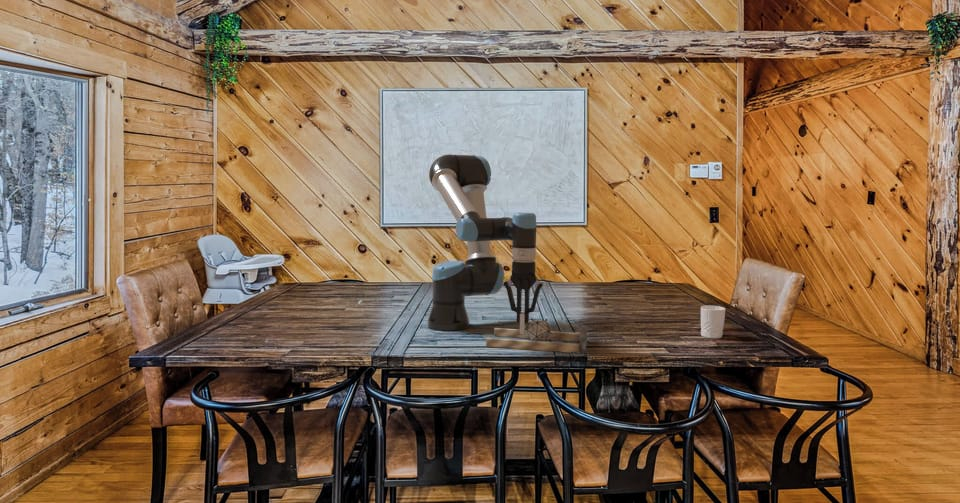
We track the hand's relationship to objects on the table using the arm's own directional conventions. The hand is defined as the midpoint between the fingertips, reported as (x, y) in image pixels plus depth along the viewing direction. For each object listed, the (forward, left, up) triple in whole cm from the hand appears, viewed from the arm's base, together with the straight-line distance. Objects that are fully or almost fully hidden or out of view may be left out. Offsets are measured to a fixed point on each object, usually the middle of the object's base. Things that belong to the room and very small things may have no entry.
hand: (522, 332), depth 182 cm
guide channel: (+4, 0, -3) cm, 6 cm away
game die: (+5, +1, -4) cm, 6 cm away
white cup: (+62, +25, -4) cm, 68 cm away
